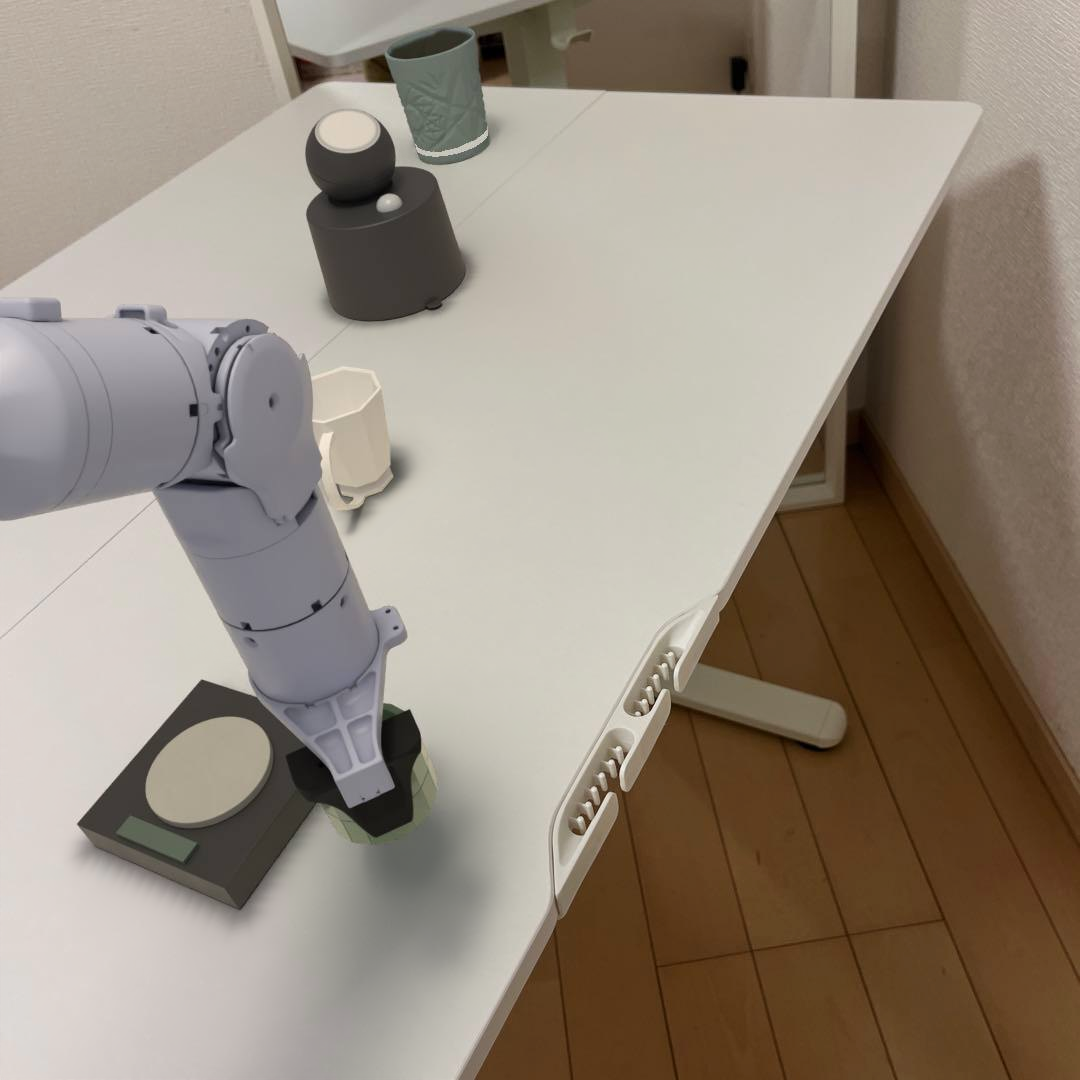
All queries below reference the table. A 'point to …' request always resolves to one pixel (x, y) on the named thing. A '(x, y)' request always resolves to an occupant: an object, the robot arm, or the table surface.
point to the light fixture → (377, 222)
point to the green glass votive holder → (421, 791)
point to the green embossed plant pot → (440, 90)
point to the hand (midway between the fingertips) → (373, 776)
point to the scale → (205, 796)
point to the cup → (351, 434)
